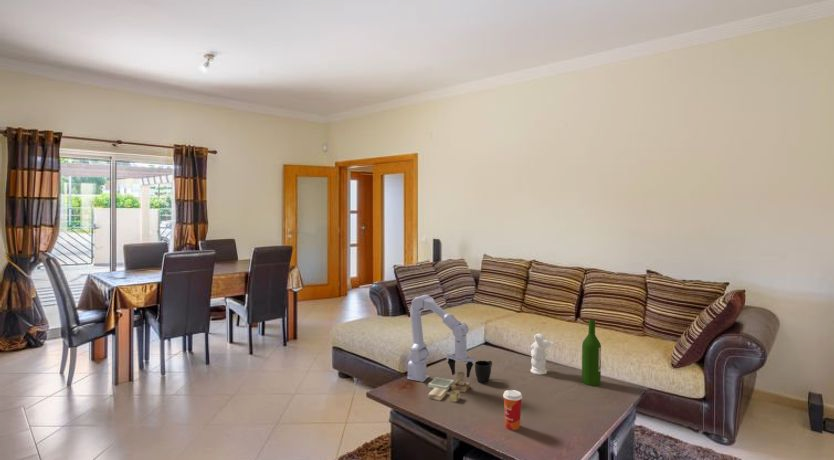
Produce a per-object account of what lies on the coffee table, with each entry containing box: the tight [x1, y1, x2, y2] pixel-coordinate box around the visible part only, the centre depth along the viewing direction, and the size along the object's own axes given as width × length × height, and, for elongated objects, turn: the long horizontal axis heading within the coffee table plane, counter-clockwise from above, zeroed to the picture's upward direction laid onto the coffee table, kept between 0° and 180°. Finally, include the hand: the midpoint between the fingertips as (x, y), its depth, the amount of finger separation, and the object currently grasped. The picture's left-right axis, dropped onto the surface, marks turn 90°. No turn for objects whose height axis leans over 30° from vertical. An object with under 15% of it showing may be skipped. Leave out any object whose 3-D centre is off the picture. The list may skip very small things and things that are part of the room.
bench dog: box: [449, 390, 461, 403], centre depth 200 cm, size 3×5×4 cm, turn 155°
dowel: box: [456, 370, 465, 387], centre depth 212 cm, size 4×4×8 cm
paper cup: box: [502, 389, 523, 431], centre depth 174 cm, size 8×8×14 cm
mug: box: [474, 360, 493, 384], centre depth 222 cm, size 8×12×10 cm
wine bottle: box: [581, 318, 602, 387], centre depth 218 cm, size 9×9×32 cm
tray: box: [427, 376, 455, 392], centre depth 216 cm, size 10×10×2 cm
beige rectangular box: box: [427, 388, 447, 401], centre depth 204 cm, size 6×8×2 cm
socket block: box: [451, 380, 471, 393], centre depth 213 cm, size 7×7×2 cm
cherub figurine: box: [529, 333, 555, 376], centre depth 232 cm, size 12×12×22 cm
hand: (460, 375), depth 212 cm, fingers open, 7 cm apart
